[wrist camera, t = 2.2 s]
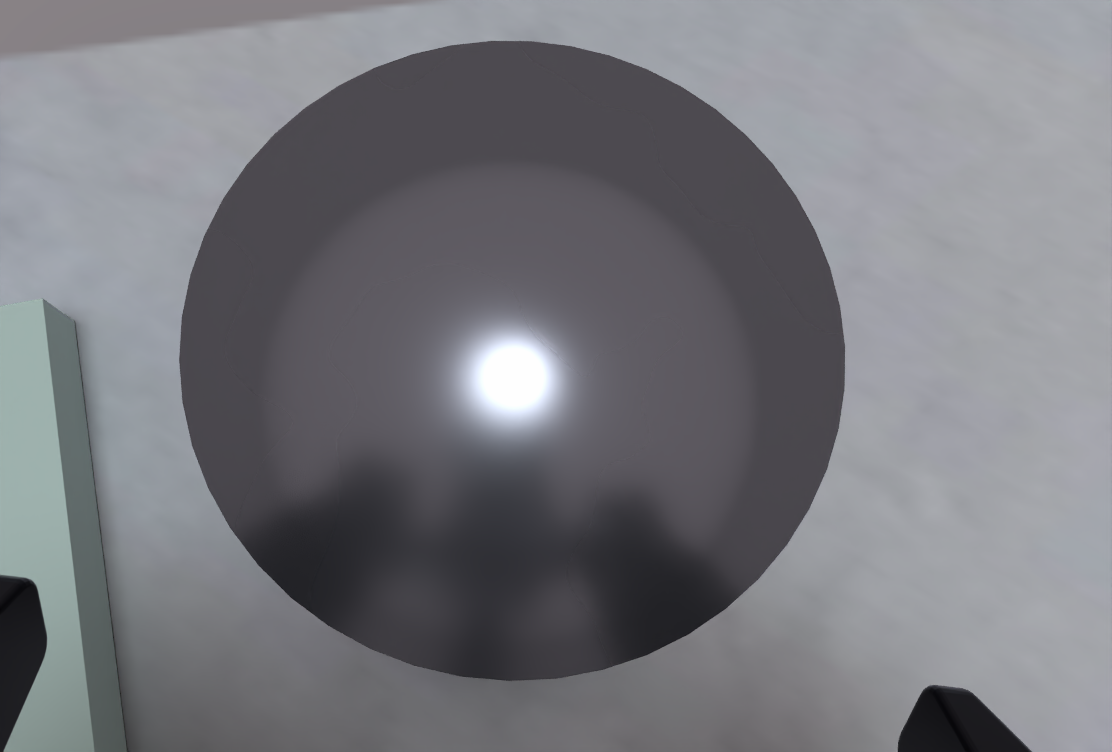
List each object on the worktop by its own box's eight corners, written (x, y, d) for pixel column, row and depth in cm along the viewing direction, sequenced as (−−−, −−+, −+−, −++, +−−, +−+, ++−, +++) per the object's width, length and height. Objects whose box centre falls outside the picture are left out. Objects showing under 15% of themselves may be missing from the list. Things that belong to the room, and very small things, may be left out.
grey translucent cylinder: (681, 626, 19) (1052, 657, 7) (377, 704, 18) (143, 908, 6) (606, 339, 21) (794, -84, 8) (321, 399, 20) (34, 34, 7)
